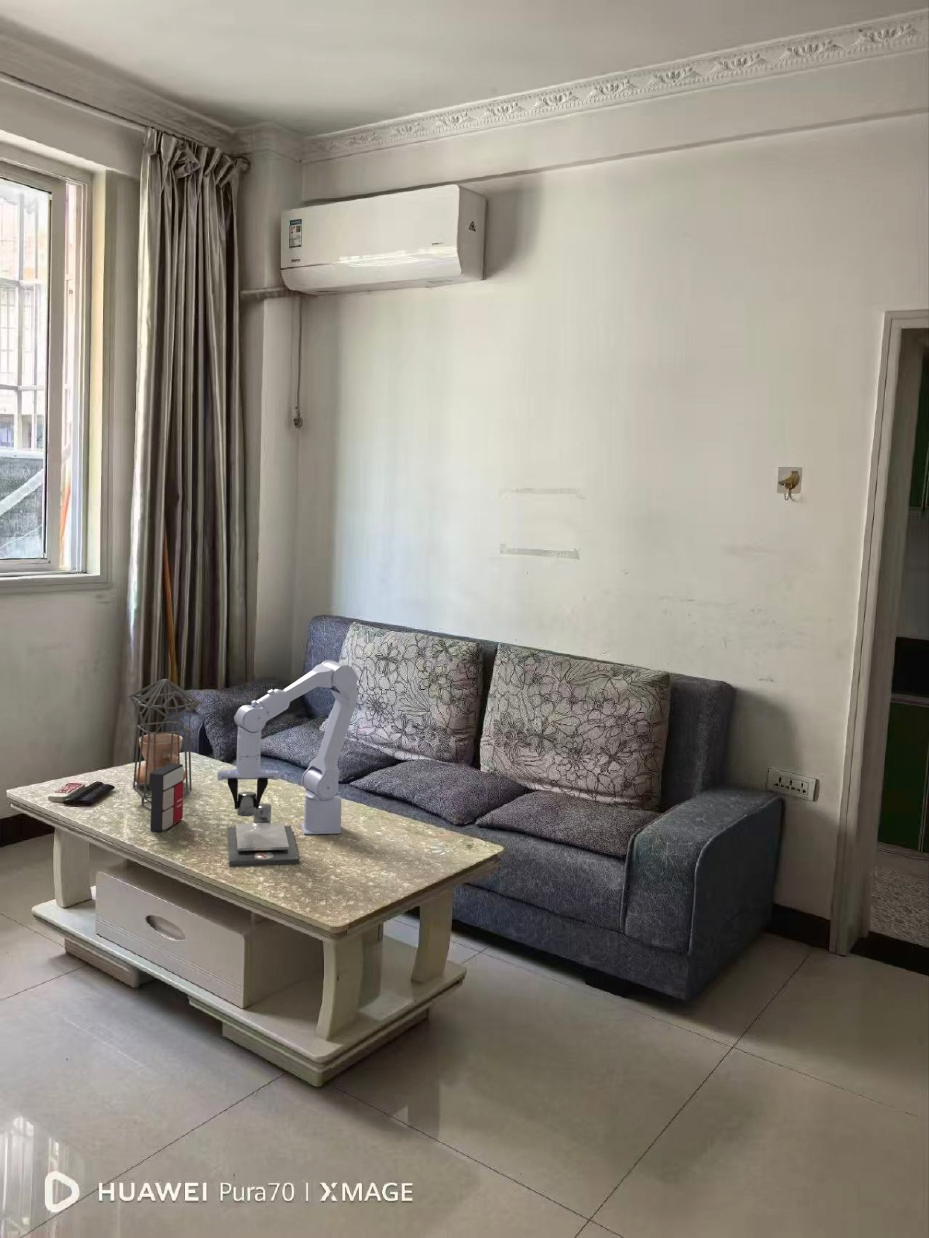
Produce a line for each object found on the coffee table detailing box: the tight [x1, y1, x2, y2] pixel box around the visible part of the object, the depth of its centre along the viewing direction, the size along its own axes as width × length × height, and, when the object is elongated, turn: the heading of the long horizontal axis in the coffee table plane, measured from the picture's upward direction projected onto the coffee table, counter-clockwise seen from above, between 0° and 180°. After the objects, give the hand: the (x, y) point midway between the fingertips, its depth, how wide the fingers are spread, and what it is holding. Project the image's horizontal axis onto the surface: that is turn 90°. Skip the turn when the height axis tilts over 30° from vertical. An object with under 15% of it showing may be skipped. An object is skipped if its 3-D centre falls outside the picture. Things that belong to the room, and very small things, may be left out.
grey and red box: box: [148, 763, 185, 833], centre depth 254 cm, size 11×4×15 cm, turn 168°
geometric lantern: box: [126, 678, 202, 811], centre depth 268 cm, size 16×16×35 cm
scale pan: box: [235, 822, 289, 851], centre depth 245 cm, size 12×18×1 cm, turn 14°
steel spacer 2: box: [253, 803, 272, 823], centre depth 260 cm, size 4×4×5 cm
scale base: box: [226, 825, 300, 867], centre depth 244 cm, size 16×24×2 cm, turn 14°
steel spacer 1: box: [236, 791, 257, 817], centre depth 247 cm, size 4×4×5 cm
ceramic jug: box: [135, 733, 186, 789], centre depth 287 cm, size 18×14×14 cm
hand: (246, 807), depth 247 cm, fingers closed on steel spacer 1, 4 cm apart
